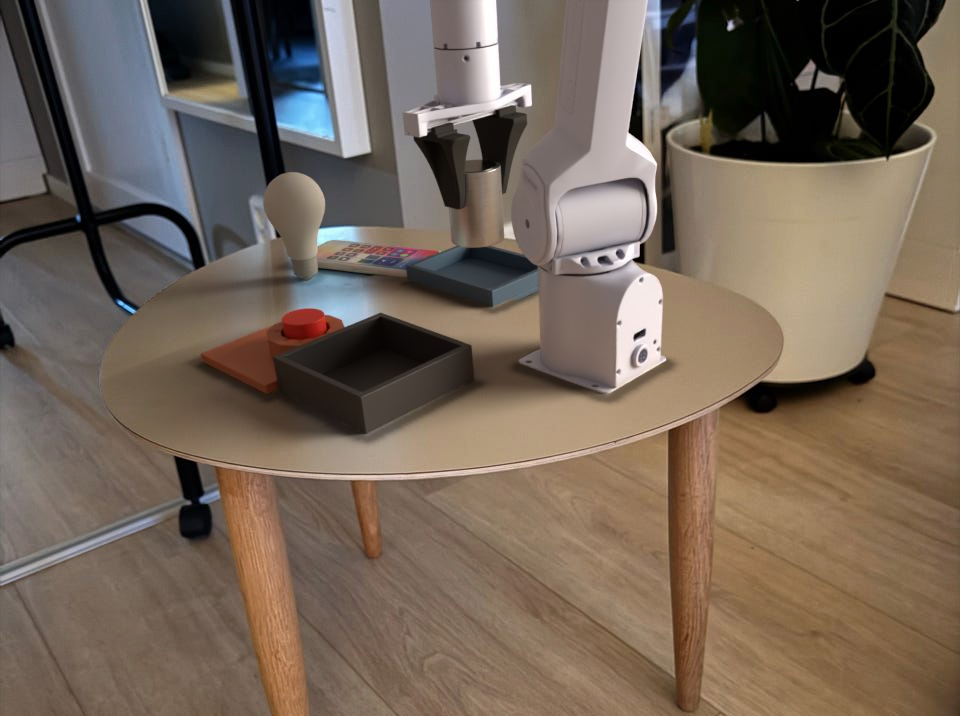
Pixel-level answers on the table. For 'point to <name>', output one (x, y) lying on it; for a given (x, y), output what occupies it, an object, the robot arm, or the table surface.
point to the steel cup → (479, 207)
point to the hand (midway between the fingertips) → (476, 199)
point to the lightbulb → (296, 218)
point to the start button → (304, 324)
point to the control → (259, 354)
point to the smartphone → (369, 257)
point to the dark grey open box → (374, 371)
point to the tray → (477, 274)
